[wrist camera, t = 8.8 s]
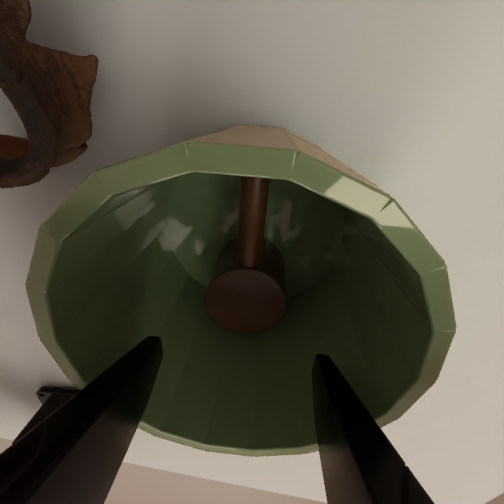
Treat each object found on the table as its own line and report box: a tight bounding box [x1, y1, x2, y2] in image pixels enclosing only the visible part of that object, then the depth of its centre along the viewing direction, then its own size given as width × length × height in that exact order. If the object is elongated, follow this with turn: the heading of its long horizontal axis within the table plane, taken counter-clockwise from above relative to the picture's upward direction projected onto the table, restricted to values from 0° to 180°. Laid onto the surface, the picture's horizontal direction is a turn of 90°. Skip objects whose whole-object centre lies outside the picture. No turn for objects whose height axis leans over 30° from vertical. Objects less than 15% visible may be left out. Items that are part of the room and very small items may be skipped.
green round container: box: [26, 125, 456, 457], centre depth 10 cm, size 10×10×8 cm
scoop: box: [205, 176, 287, 333], centre depth 12 cm, size 8×4×3 cm, turn 176°
